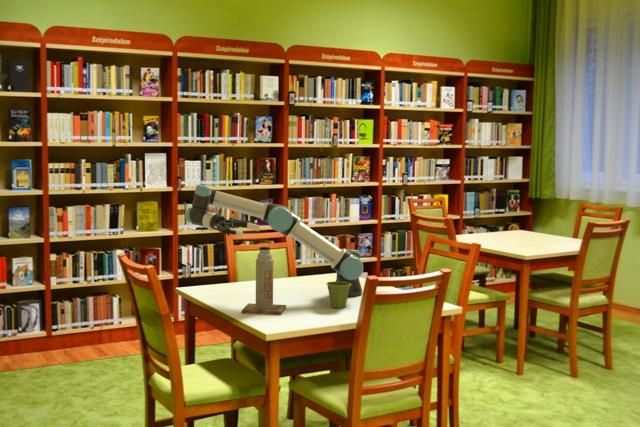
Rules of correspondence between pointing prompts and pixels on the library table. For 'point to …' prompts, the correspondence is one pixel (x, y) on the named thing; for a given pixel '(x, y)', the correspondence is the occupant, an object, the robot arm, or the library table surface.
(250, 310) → the walnut board
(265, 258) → the thermos bottle
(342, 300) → the plant pot
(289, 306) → the library table surface
